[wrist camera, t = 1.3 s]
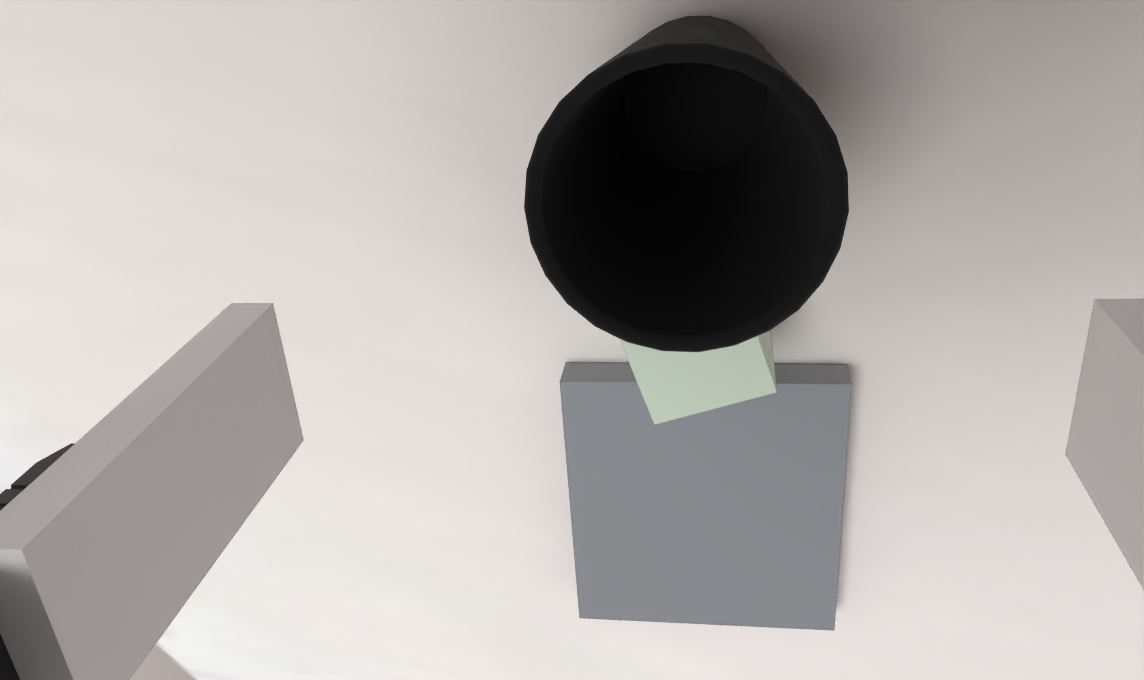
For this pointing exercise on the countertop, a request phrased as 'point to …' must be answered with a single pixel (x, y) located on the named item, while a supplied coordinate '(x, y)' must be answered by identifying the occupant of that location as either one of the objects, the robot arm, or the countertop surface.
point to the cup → (687, 191)
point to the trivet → (707, 500)
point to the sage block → (702, 376)
